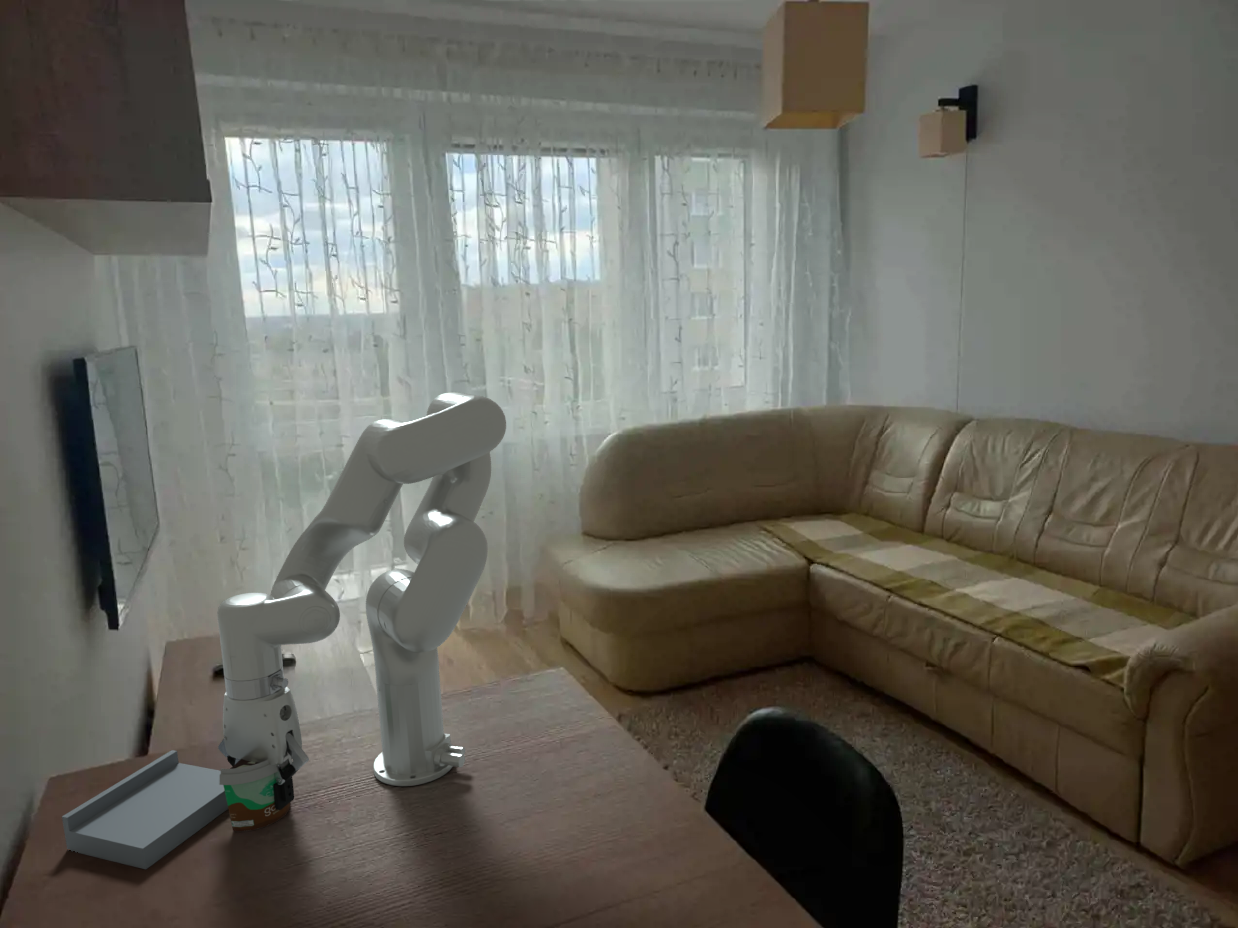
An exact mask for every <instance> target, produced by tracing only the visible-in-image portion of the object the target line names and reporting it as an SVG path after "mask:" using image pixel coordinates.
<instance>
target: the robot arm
mask: <svg viewBox="0 0 1238 928" xmlns="http://www.w3.org/2000/svg"><path fill="white" fill-rule="evenodd" d="M506 430H507V420H506V415H505V413H504V411H503V409H502V408H501V407H500V405H499V404H498V403H497V402H496V401H494V400H492V399H490V398H488V397H486V396H483V395H476V394H470V393H465V392H460V391H459V392H457V391H455V392H454V391H451V392H444V393H441V394H439V395H437V396H436V397H435V398H433V399H432V401H431V402H430V403H429V406H428V409H427V410H426V416H425V417H421V418H418V419H415V420H412V421H407V422H406V421H402V420H397V419H391V418H390V419H388V418H383V419H379V420H374V421H373V422H371V423H370V424H368V425H367V426H366V428H365V429H364V430H363V432H361V435H360V436H359V438H358V439H357V441H356V444H355V446H354V447H353V450H352V452H351V454H350V455H349V458H348V459H347V461H346V463H345V465H344V468H343V469H342V471H341V473H340V475H339V476H338V479H337V481H336V483H335V485H334V487H333V489H332V490H331V492H330V495H329V497H328V498H327V500H326V503H325V504H324V506H323V508H322V509H321V511H319V513H318V514H317V515H316V516H315V517H314V519H313V520H312V521H311V522H310V524H309V525H308V526H307V527H306V528H305V530H304V531H303V532H302V533H301V535H300V536H299V537H298V539H296V541H295V543H294V544H293V545H292V547H291V550H290V551H289V553H288V555H287V557H286V559H285V560H284V562H283V564H282V566H281V569H280V570H279V572H278V574H277V575H276V578H275V579H274V580H275V581H274V582H273V585H272V588H271V590H270V594H269V593H265V592H245V593H240V594H236V595H233V596H231V597H228V598H226V599H224V600H223V601H222V602H221V603H220V604H219V606H218V608H217V625H218V633H219V642H220V643H219V644H220V650H221V658H222V659H221V660H222V661H221V662H222V667H223V676H224V677H223V678H224V686H225V693H224V696H223V705H222V706H223V707H222V729H223V739H222V740H221V742H220V743H219V744H218V746H217V749H218V750H219V752H220V753H221V754H222V755H223V756H224V757H225V758H226V760H227V762H228V763H229V764H230V765H231V767H233V766H234V765H235V764H236V763H237V762H238V761H239V760H240V759H243V760H247V761H252V762H258V763H261V762H263V761H266V760H268V762H269V764H271V765H276V767H277V771H278V772H276V773H274V777H275V780H276V782H277V783H275V784H273V788H274V802H275V808H276V810H281V809H283V808H284V807H285V806H286V805H288V804H289V803H290V802H291V803H292V802H293V801H294V799H295V793H294V780H293V777H294V776H295V775H296V774H297V772H298V771H299V770H300V769H301V768H302V767H303V766H304V765H305V764H306V763H309V761H310V759H309V756H308V755H307V753H306V752H305V751H304V749H303V739H302V732H301V726H300V725H301V724H300V720H299V714H298V711H297V710H298V709H297V707H296V704H295V703H296V702H295V700H294V696H293V694H292V692H291V689H290V687H288V686H289V680H288V678H285V674H284V666H283V665H284V664H283V653H282V646H285V645H286V646H287V645H289V646H290V645H302V644H303V645H304V644H312V643H317V642H319V641H322V640H324V639H326V638H328V637H329V636H331V635H332V634H333V633H334V632H335V631H336V629H337V628H338V626H339V623H340V619H341V612H340V607H339V606H338V603H337V601H336V600H335V598H334V597H332V596H331V594H330V593H329V592H328V591H326V590H327V587H328V585H329V583H330V581H331V579H332V577H333V574H334V573H335V571H336V569H337V568H338V567H339V564H340V563H341V562H342V561H343V559H344V557H346V556H347V555H348V553H349V552H350V551H351V550H353V549H354V548H355V547H356V546H359V545H360V544H362V543H364V542H367V541H369V540H370V539H372V538H373V537H375V536H376V535H377V534H378V533H379V532H380V530H381V529H382V527H383V525H384V522H385V521H386V519H387V517H388V515H389V513H390V511H391V508H392V506H393V505H394V502H395V501H396V499H397V496H398V494H399V493H400V490H401V488H402V487H403V484H405V485H409V484H415V483H419V482H422V481H426V480H428V479H431V478H432V479H431V480H430V483H429V486H428V488H427V490H426V491H425V493H424V496H423V497H422V499H421V501H420V503H419V504H418V506H417V509H416V511H415V513H414V514H413V517H412V518H411V520H410V522H409V524H408V526H407V528H406V531H405V533H404V536H403V545H404V546H403V547H404V551H405V552H406V554H407V556H408V557H409V558H410V560H412V561H413V562H414V563H415V564H417V566H416V569H415V571H411V570H407V569H404V568H396V569H391V570H388V571H386V572H383V573H382V574H380V575H379V576H377V578H375V579H374V581H373V582H372V583H371V585H370V586H369V588H368V591H367V593H366V599H365V614H366V620H367V621H366V622H367V624H368V625H367V626H368V630H369V635H370V640H371V645H372V652H373V659H374V661H373V662H374V669H375V670H374V671H375V684H376V694H377V695H376V696H377V707H378V708H377V709H378V717H379V728H380V729H379V730H380V738H381V749H382V750H381V751H382V752H380V753H379V754H378V755H377V757H376V758H375V759H374V761H373V764H372V767H373V774H374V776H375V778H376V779H377V780H379V781H380V783H384V784H386V785H389V786H393V787H394V786H395V787H410V786H411V787H413V786H418V785H423V784H427V783H430V782H433V781H435V780H437V779H439V778H441V777H443V776H444V775H446V774H447V773H448V772H450V770H451V769H452V768H453V767H457V768H463V766H464V765H465V762H466V761H465V760H466V755H465V754H466V747H465V746H459V745H456V746H455V745H453V744H452V742H451V734H450V733H445V732H444V717H443V704H442V692H441V691H442V690H441V689H442V688H441V679H440V660H439V652H438V647H441V645H442V644H444V642H446V641H447V640H448V638H449V637H450V636H451V635H452V633H453V632H454V630H455V629H456V627H457V625H458V623H459V621H460V619H461V617H462V615H463V613H464V611H465V609H466V606H467V604H468V603H469V601H470V599H471V596H472V594H473V593H474V591H475V589H476V587H477V584H478V582H479V580H480V578H481V576H482V574H483V571H484V569H485V567H486V563H487V559H488V542H487V538H486V534H485V532H484V531H483V529H482V528H481V527H480V526H479V525H478V524H477V523H476V522H475V519H476V517H477V515H478V513H479V511H480V508H481V506H482V504H483V501H484V499H485V497H486V494H487V492H488V489H489V486H490V482H491V479H492V478H491V477H492V461H491V458H492V457H491V453H490V452H492V451H493V450H495V449H496V448H497V447H498V445H499V444H501V442H502V440H503V438H504V436H505V434H506ZM285 753H287V755H286V756H285V757H284V755H285ZM291 757H292V759H291ZM287 759H288V764H287V765H286V766H285V770H284V771H283V772H282V769H281V766H280V765H281V764H282V763H283V762H285V761H286V760H287Z"/></svg>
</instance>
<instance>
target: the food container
mask: <svg viewBox="0 0 1238 928" xmlns="http://www.w3.org/2000/svg"><path fill="white" fill-rule="evenodd" d="M286 755H287V753H285V755H284V757H285V756H286ZM291 759H292V757H291ZM292 760H293V759H292ZM287 764H288V759H287V760H286V761H285V762H283V763H282V764H281V765H280V766H281V769H282V772H283V771H284V770H285V766H286V765H287ZM219 771H221V774H220V780H219V785H223V786H224V790H225V795H226V800H227V805H228V809H227V810H228V813H229V818H230V822H231V827H232V832H248V831H249V832H251V831H255V830H259V829H263V828H266V827H268V826H270V825H273V824H275V823H277V822H278V821H280V820H281V819H283V817H285V816H286V815H287V814H288V812H289V811H290V809H291V806H292V805H291V803H292V801H291V802H290V803H289V804H288V805H286V806H285V807H284V808H283V809H281V810H276V808H275V802H274V788H273V784H275V783H277V782H276V780H275V777H274V773H276V772H278V771H277V767H276V765H271V764H269V762H268V760H266V761H263V762H261V763H258V762H252V761H247V760H243V759H240V760H239V761H238V762H237V763H236V764H235V765H234V766H233V767H232V766H231V767H230V768H220V770H219Z"/></svg>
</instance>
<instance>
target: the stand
mask: <svg viewBox="0 0 1238 928" xmlns="http://www.w3.org/2000/svg"><path fill="white" fill-rule="evenodd" d="M178 755H179V754H178V750H173V749H172V750H170V751H168V752H166V753H164V754H162V755H161V756H160V757H158V758H157V759H155V760H153V761H152V762H150V763H148V764H147V765H145V766H143V767H141V768H140V769H138V770H136V771H135V772H133V773H132V774H130V775H128V776H126V777H125V778H123V779H122V780H119V782H117V783H115V784H114V785H111V786H110V787H108V788H107V789H105V790H103V791H102V792H100V793H98V794H97V795H95V796H94V797H92V798H90V799H89V800H87V801H85V802H84V803H82V804H80V805H78V806H77V807H76V808H73V809H72V810H70V811H69V812H67V813H65V814H63V815H62V816H61V821H62V825H63V831H64V838H65V844H66V849H70V850H71V851H70V852H73V851H75V852H74V853H77V852H78V853H77V854H82V855H85V856H90V857H94V858H98V859H101V860H106V861H110V862H113V863H118V864H122V865H125V866H131V867H134V868H139V869H143V870H148V869H149V868H150V867H151V866H153V865H154V864H155V863H157V862H158V861H159V860H161V859H163V857H165V856H166V855H168V854H169V853H170V852H172V851H173V850H175V848H177V847H178V846H180V845H181V844H182V843H184V842H185V841H186V840H188V839H190V837H192V836H193V835H195V834H196V833H198V832H199V831H200V830H201V829H203V828H204V827H205V826H208V824H209V823H211V822H212V821H214V820H215V819H216V818H218V817H219V816H220V815H222V814H223V813H225V812H226V811H228V810H229V809H228V805H227V800H226V795H225V790H224V786H223V785H219V780H220V774H221V770H219V769H215V768H207V767H203V766H198V765H191V764H187V763H181V762H179V756H178Z"/></svg>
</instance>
